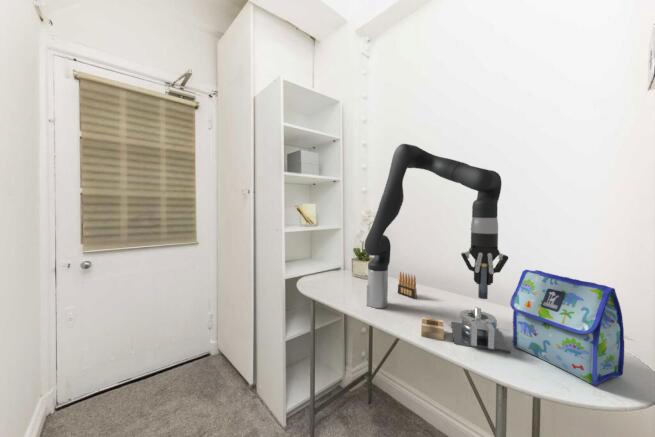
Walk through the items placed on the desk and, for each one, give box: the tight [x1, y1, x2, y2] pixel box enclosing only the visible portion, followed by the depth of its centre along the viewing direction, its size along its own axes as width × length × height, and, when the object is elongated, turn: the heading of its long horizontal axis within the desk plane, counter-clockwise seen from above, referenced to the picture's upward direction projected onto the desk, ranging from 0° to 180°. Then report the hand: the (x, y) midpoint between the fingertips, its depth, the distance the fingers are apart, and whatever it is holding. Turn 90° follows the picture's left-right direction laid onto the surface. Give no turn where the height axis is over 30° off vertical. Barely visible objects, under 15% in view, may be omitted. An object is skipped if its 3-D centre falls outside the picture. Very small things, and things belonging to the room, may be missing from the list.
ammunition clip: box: [397, 271, 418, 300], centre depth 134 cm, size 11×2×12 cm, turn 35°
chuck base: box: [450, 307, 511, 354], centre depth 92 cm, size 16×16×10 cm
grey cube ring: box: [459, 308, 498, 349], centre depth 90 cm, size 11×15×7 cm
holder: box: [420, 316, 445, 341], centre depth 95 cm, size 7×7×4 cm
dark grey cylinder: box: [477, 262, 489, 300], centre depth 84 cm, size 3×3×12 cm
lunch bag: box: [509, 269, 625, 387], centre depth 77 cm, size 22×17×26 cm
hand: (483, 283), depth 84 cm, fingers closed on dark grey cylinder, 2 cm apart
